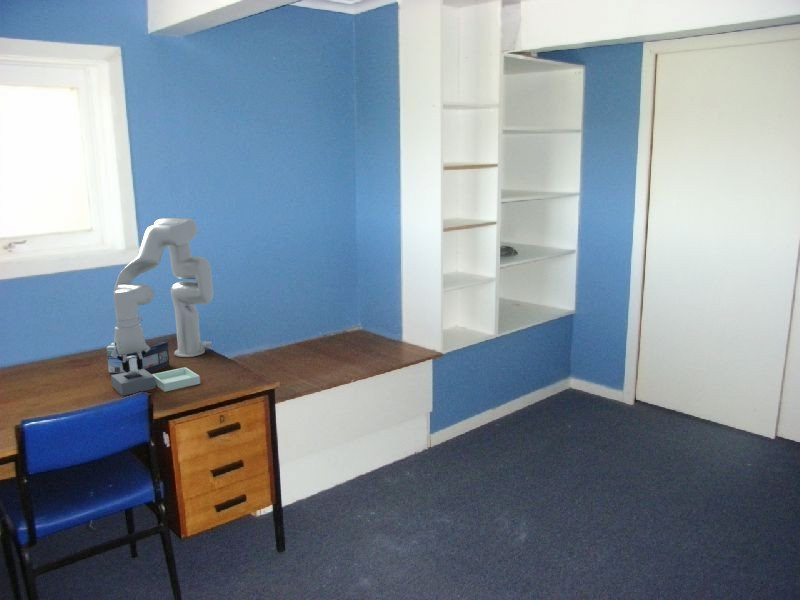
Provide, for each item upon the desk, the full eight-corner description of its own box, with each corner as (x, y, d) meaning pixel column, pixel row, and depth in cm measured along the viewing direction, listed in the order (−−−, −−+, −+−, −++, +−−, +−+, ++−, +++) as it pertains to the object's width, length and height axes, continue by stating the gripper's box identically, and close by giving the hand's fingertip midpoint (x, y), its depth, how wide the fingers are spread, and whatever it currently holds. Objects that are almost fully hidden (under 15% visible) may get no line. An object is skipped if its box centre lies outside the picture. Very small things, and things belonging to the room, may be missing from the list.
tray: (186, 374, 269) (185, 367, 268) (200, 383, 258) (199, 375, 258) (151, 382, 260) (150, 374, 260) (164, 391, 250) (164, 383, 249)
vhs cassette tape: (132, 378, 264) (129, 354, 262) (127, 377, 266) (124, 353, 264) (170, 366, 279) (168, 342, 277) (165, 364, 281) (163, 341, 279)
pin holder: (144, 379, 263) (143, 368, 262) (155, 388, 254) (154, 376, 253) (112, 386, 255) (111, 375, 254) (122, 395, 246) (121, 383, 245)
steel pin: (137, 380, 257) (135, 354, 255) (141, 383, 254) (138, 357, 252) (126, 382, 255) (124, 357, 253) (130, 385, 252) (127, 359, 249)
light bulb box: (108, 373, 271) (105, 347, 269) (114, 367, 278) (112, 342, 275) (135, 372, 271) (133, 346, 269) (141, 367, 278) (138, 341, 276)
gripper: (147, 316, 257) (151, 363, 261) (100, 324, 247) (106, 372, 251) (154, 320, 251) (158, 367, 256) (107, 328, 241) (112, 378, 245)
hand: (132, 369), depth 253 cm, fingers closed on steel pin, 4 cm apart
